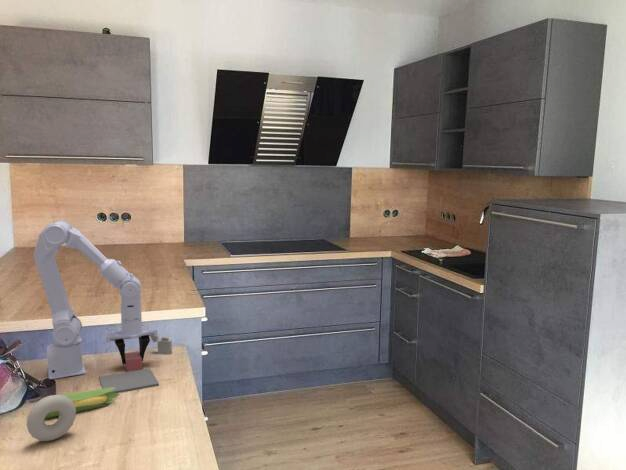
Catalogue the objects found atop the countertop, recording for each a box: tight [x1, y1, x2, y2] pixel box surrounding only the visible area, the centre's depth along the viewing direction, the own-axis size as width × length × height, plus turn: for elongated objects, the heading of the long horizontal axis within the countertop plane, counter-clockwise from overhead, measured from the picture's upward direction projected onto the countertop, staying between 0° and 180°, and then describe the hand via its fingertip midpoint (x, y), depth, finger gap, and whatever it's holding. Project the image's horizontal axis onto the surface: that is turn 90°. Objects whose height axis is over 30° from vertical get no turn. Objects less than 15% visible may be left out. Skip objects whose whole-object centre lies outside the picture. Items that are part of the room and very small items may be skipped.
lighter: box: [150, 335, 173, 355], centre depth 166 cm, size 7×2×8 cm, turn 88°
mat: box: [98, 367, 160, 394], centre depth 144 cm, size 14×12×1 cm
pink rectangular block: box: [123, 350, 143, 372], centre depth 154 cm, size 4×6×4 cm
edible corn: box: [36, 387, 120, 419], centre depth 127 cm, size 5×20×5 cm
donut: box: [26, 394, 77, 442], centre depth 113 cm, size 10×4×10 cm, turn 135°
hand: (132, 361), depth 154 cm, fingers closed on pink rectangular block, 4 cm apart
